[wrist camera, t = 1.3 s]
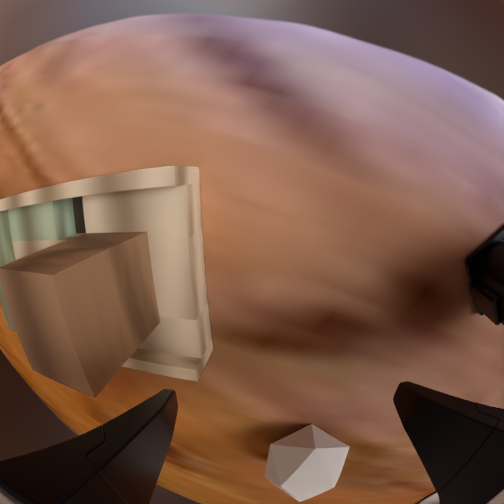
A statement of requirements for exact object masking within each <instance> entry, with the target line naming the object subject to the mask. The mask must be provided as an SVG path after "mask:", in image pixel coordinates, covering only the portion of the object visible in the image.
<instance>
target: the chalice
mask: <svg viewBox="0 0 504 504" xmlns="http://www.w3.org/2000/svg"><path fill="white" fill-rule="evenodd" d="M418 504H439V496H438V494H437V492H436V493H434V494H433V495H431V496H429V497H427V498H426V499H424V500H422V501H421V502H420V503H418Z"/></svg>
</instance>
